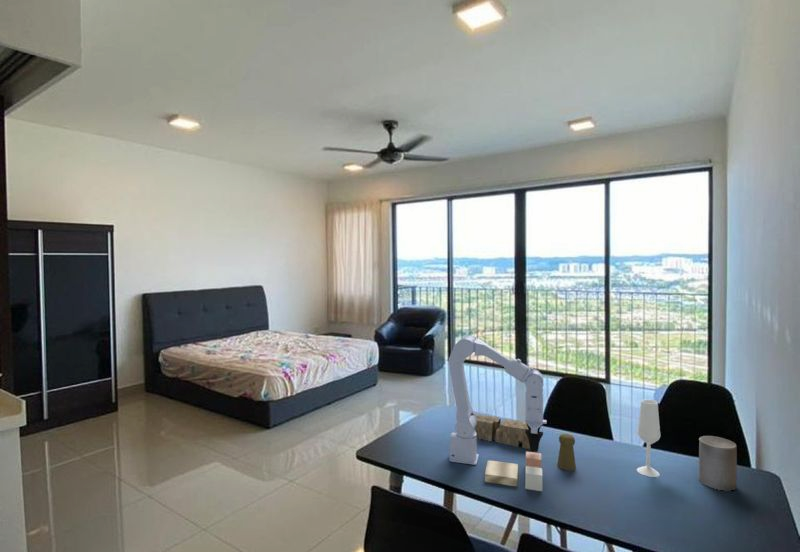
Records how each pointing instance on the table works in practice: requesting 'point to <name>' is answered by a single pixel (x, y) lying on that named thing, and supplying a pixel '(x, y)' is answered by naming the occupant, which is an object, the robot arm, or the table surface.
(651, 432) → the champagne flute
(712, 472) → the pillar candle
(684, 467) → the table surface
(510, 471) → the birch base block
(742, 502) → the table surface
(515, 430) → the block tower
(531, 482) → the off-white cube
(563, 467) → the cork
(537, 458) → the terracotta cube
